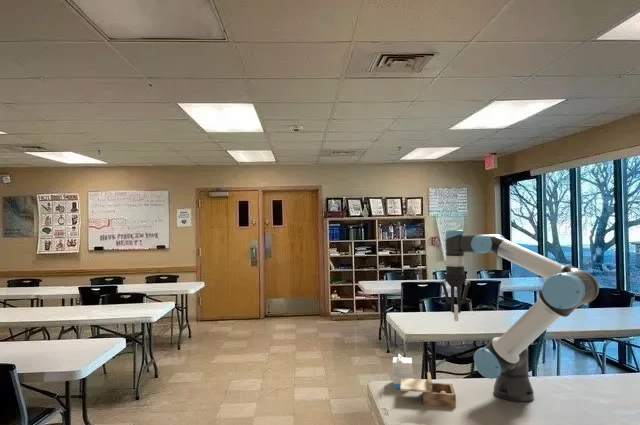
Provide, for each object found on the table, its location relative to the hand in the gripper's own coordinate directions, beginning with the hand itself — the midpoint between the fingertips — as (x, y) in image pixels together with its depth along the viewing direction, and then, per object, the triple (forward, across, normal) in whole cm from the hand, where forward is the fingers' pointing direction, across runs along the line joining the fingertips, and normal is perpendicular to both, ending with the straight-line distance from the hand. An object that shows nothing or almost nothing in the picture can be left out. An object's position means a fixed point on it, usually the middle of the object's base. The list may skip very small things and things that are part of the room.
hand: (456, 320), depth 183 cm
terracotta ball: (+29, +7, +14) cm, 32 cm away
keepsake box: (+29, +9, +15) cm, 34 cm away
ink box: (+30, +23, +1) cm, 38 cm away
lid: (+24, +18, +15) cm, 33 cm away
